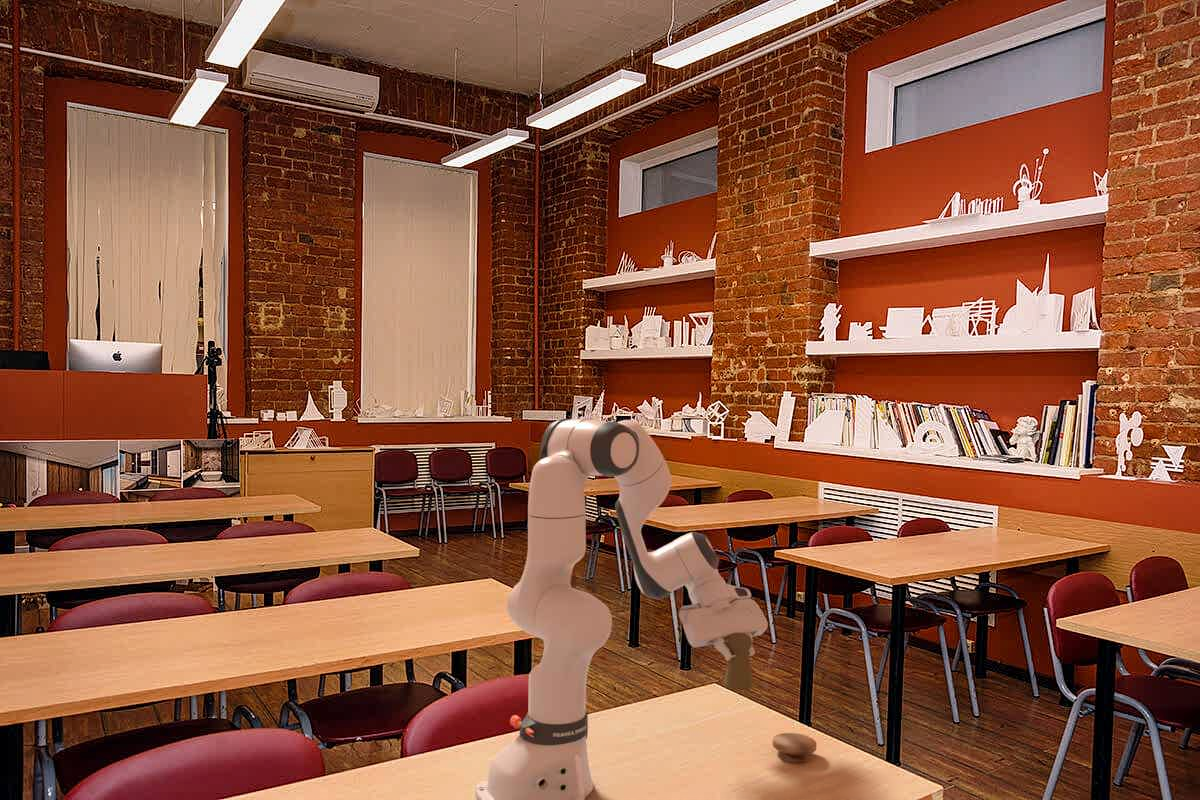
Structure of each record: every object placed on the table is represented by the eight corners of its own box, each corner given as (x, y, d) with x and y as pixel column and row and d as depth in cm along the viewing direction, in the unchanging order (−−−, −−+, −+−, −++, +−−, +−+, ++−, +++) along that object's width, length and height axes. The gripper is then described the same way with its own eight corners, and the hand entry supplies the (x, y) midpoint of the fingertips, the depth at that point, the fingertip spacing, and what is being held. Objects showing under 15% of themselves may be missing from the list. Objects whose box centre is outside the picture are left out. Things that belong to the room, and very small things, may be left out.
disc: (793, 769, 175) (793, 754, 175) (763, 752, 183) (763, 738, 183) (825, 759, 180) (825, 745, 180) (795, 744, 188) (795, 729, 187)
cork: (752, 691, 182) (753, 639, 182) (723, 688, 183) (724, 636, 183) (753, 681, 188) (754, 631, 188) (725, 679, 189) (726, 629, 189)
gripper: (681, 599, 186) (709, 657, 178) (754, 588, 196) (784, 642, 188) (669, 615, 190) (696, 672, 182) (741, 603, 200) (769, 657, 192)
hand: (741, 657), depth 185 cm, fingers closed on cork, 4 cm apart
